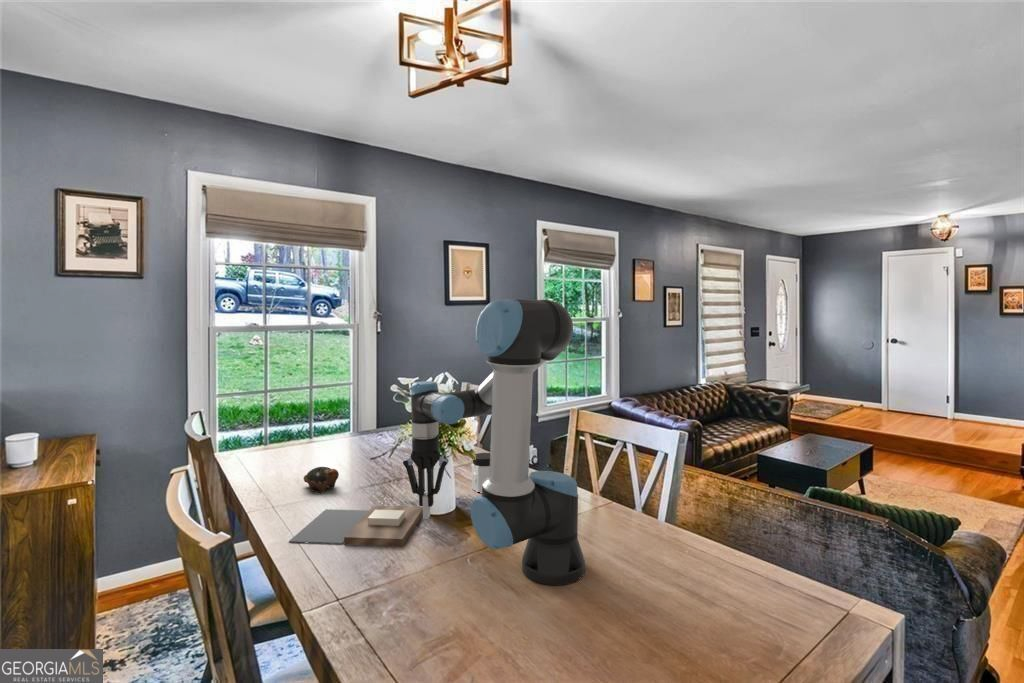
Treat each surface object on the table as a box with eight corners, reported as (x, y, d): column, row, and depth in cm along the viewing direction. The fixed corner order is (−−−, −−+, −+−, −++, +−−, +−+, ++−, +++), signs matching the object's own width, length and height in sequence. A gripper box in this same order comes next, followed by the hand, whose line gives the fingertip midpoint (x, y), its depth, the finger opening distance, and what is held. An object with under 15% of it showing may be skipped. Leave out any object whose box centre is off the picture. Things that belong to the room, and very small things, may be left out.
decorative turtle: (331, 495, 169) (328, 473, 168) (295, 493, 174) (292, 471, 173) (349, 485, 178) (346, 463, 178) (314, 483, 183) (312, 462, 183)
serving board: (423, 513, 154) (423, 506, 154) (402, 546, 132) (402, 538, 132) (373, 511, 155) (373, 505, 155) (344, 544, 133) (343, 537, 133)
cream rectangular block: (405, 517, 146) (404, 510, 146) (398, 525, 140) (398, 518, 140) (375, 516, 147) (375, 509, 147) (367, 524, 141) (367, 517, 141)
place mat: (372, 511, 155) (372, 510, 155) (342, 544, 133) (342, 542, 133) (325, 510, 156) (325, 509, 156) (288, 542, 134) (288, 541, 134)
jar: (468, 488, 176) (467, 454, 175) (487, 483, 180) (487, 451, 180) (481, 495, 168) (481, 460, 168) (501, 490, 173) (501, 456, 172)
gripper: (450, 433, 144) (451, 512, 145) (406, 432, 145) (408, 511, 147) (445, 439, 137) (446, 523, 138) (398, 438, 138) (400, 521, 139)
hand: (426, 517), depth 142 cm, fingers closed
